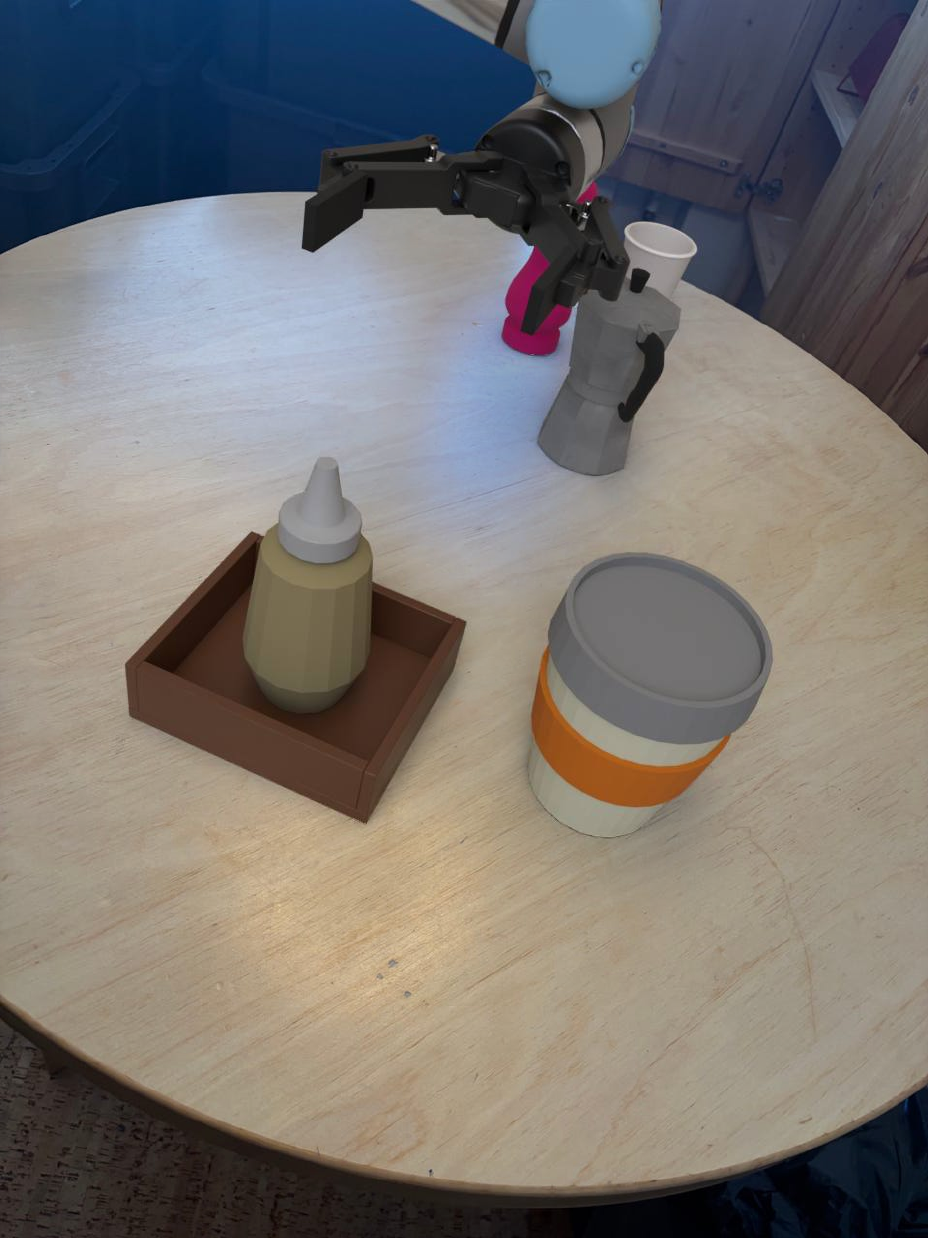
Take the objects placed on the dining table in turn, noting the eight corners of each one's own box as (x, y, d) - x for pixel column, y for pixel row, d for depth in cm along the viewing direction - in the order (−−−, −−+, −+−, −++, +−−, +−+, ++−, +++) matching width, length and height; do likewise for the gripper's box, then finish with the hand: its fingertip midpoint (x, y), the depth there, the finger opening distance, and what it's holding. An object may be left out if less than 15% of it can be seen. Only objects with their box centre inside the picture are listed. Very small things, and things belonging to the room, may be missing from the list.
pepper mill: (500, 317, 107) (544, 130, 93) (562, 333, 107) (616, 148, 93) (493, 348, 101) (538, 155, 88) (558, 364, 102) (614, 174, 88)
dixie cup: (585, 309, 112) (610, 226, 105) (629, 296, 117) (655, 216, 110) (638, 344, 109) (667, 260, 102) (681, 329, 113) (712, 248, 107)
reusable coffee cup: (715, 847, 61) (819, 699, 51) (537, 878, 57) (611, 725, 47) (638, 697, 69) (715, 544, 59) (477, 716, 65) (529, 554, 55)
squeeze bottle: (217, 699, 61) (220, 475, 48) (277, 621, 67) (294, 402, 54) (331, 748, 60) (364, 532, 47) (382, 664, 66) (424, 452, 53)
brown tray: (128, 716, 60) (124, 663, 56) (249, 581, 70) (251, 530, 67) (365, 824, 58) (375, 777, 54) (453, 669, 68) (467, 620, 64)
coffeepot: (521, 405, 95) (569, 227, 82) (609, 411, 97) (669, 240, 84) (556, 503, 84) (618, 318, 72) (654, 508, 87) (730, 329, 74)
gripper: (682, 274, 68) (608, 407, 53) (371, 162, 72) (219, 257, 57) (722, 168, 63) (653, 281, 48) (385, 52, 67) (221, 124, 52)
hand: (418, 268), depth 52 cm, fingers open, 13 cm apart
